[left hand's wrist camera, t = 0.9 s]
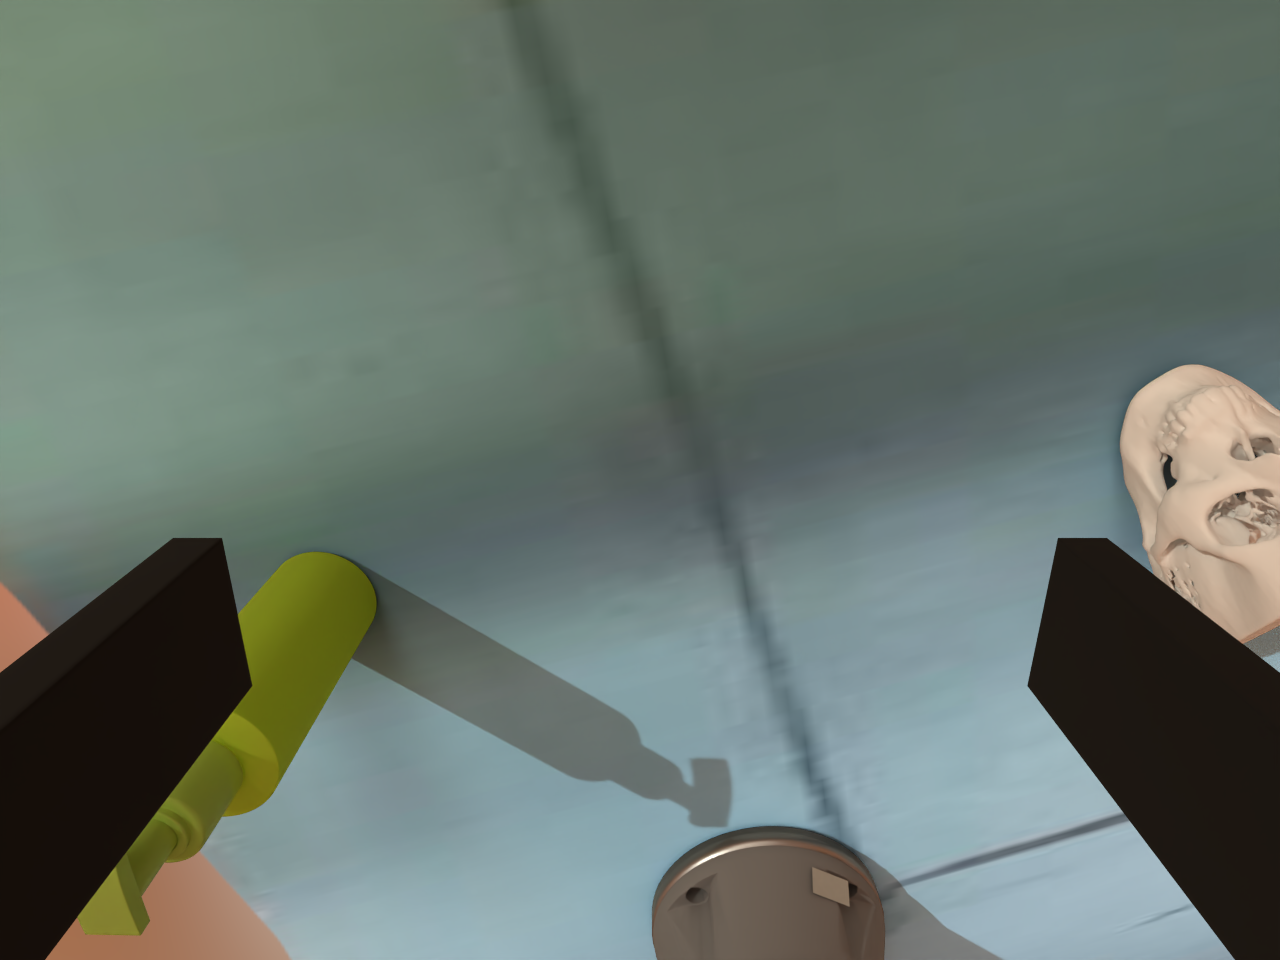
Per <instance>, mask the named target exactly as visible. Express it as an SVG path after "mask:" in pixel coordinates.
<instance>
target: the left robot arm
mask: <svg viewBox="0 0 1280 960" xmlns="http://www.w3.org/2000/svg"><path fill="white" fill-rule="evenodd" d="M251 687H252V681H251V676H250V671H249V667H248V662H247V657H246V652H245V647H244V642H243V638H242V633H241V628H240V623H239V618H238V613H237V609H236V604H235V599H234V594H233V589H232V584H231V580H230V575H229V570H228V565H227V560H226V556H225V551H224V546H223V541H222V538H173V539H171V540H170V541H169V542H167V543H166V544H165V545H164V546H162V547H161V548H160V549H158V550H157V551H156V552H155V553H153V554H152V555H151V556H149V557H148V558H147V559H146V560H144V561H143V562H142V563H140V564H139V565H138V566H137V567H135V568H134V569H133V570H132V571H130V572H129V573H128V574H126V575H125V576H124V577H123V578H121V579H120V580H119V581H117V582H116V583H115V584H114V585H112V586H111V587H110V588H108V589H107V590H106V591H105V592H103V593H102V594H101V595H99V596H98V597H97V598H96V599H94V600H93V601H92V602H90V603H89V604H88V605H87V606H85V607H84V608H83V609H81V610H80V611H79V612H78V613H76V614H75V615H74V616H72V617H71V618H70V619H69V620H67V621H66V622H65V623H63V624H62V625H61V626H60V627H58V628H57V629H56V630H54V631H53V632H52V633H51V634H49V635H48V636H47V637H46V638H44V639H43V640H42V641H40V642H39V643H38V644H37V645H35V646H34V647H33V648H31V649H30V650H29V651H28V652H26V653H25V654H24V655H22V656H21V657H20V658H19V659H17V660H16V661H15V662H13V663H12V664H11V665H10V666H8V667H7V668H6V669H4V670H3V671H2V672H1V673H0V960H45V959H46V958H47V956H48V955H49V954H50V952H51V951H52V950H53V948H54V947H55V946H56V945H57V943H58V942H59V941H60V939H61V938H62V937H63V935H64V934H65V933H66V931H67V930H68V929H69V927H70V926H71V925H72V923H73V922H74V921H75V919H76V918H77V917H78V915H79V914H80V913H81V912H82V910H83V909H84V908H85V906H86V905H87V904H88V902H89V901H90V900H91V898H92V897H93V896H94V894H95V893H96V892H97V890H98V889H99V888H100V886H101V885H102V884H103V883H104V881H105V880H106V879H107V877H108V876H109V875H110V873H111V872H112V871H113V869H114V868H115V867H116V865H117V864H118V863H119V861H120V860H121V859H122V857H123V856H124V855H125V853H126V852H127V851H128V850H129V848H130V847H131V846H132V844H133V843H134V842H135V840H136V839H137V838H138V836H139V835H140V834H141V832H142V831H143V830H144V828H145V827H146V826H147V824H148V823H149V822H150V820H151V819H152V818H153V817H154V815H155V814H156V813H157V811H158V810H159V809H160V807H161V806H162V805H163V803H164V802H165V801H166V799H167V798H168V797H169V795H170V794H171V793H172V791H173V790H174V789H175V787H176V786H177V785H178V784H179V782H180V781H181V780H182V778H183V777H184V776H185V774H186V773H187V772H188V770H189V769H190V768H191V766H192V765H193V764H194V762H195V761H196V760H197V758H198V757H199V756H200V754H201V753H202V752H203V751H204V749H205V748H206V747H207V745H208V744H209V743H210V741H211V740H212V739H213V737H214V736H215V735H216V733H217V732H218V731H219V729H220V728H221V727H222V725H223V724H224V723H225V721H226V720H227V719H228V718H229V716H230V715H231V714H232V712H233V711H234V710H235V708H236V707H237V706H238V704H239V703H240V702H241V700H242V699H243V698H244V696H245V695H246V694H247V692H248V691H249V690H250V688H251ZM1028 687H1029V688H1030V690H1031V691H1032V692H1033V694H1034V695H1035V696H1036V698H1037V699H1038V700H1039V702H1040V703H1041V704H1042V706H1043V707H1044V708H1045V710H1046V711H1047V712H1048V714H1049V715H1050V716H1051V718H1052V719H1053V720H1054V721H1055V723H1056V724H1057V725H1058V727H1059V728H1060V729H1061V731H1062V732H1063V733H1064V735H1065V736H1066V737H1067V739H1068V740H1069V741H1070V743H1071V744H1072V745H1073V747H1074V748H1075V749H1076V751H1077V752H1078V753H1079V754H1080V756H1081V757H1082V758H1083V760H1084V761H1085V762H1086V764H1087V765H1088V766H1089V768H1090V769H1091V770H1092V772H1093V773H1094V774H1095V776H1096V777H1097V778H1098V780H1099V781H1100V782H1101V784H1102V785H1103V786H1104V787H1105V789H1106V790H1107V791H1108V793H1109V794H1110V795H1111V797H1112V798H1113V799H1114V801H1115V802H1116V803H1117V805H1118V806H1119V807H1120V809H1121V810H1122V811H1123V813H1124V814H1125V815H1126V817H1127V818H1128V819H1129V820H1130V822H1131V823H1132V824H1133V826H1134V827H1135V828H1136V830H1137V831H1138V832H1139V834H1140V835H1141V836H1142V838H1143V839H1144V840H1145V842H1146V843H1147V844H1148V846H1149V847H1150V848H1151V850H1152V851H1153V852H1154V853H1155V855H1156V856H1157V857H1158V859H1159V860H1160V861H1161V863H1162V864H1163V865H1164V867H1165V868H1166V869H1167V871H1168V872H1169V873H1170V875H1171V876H1172V877H1173V879H1174V880H1175V881H1176V883H1177V884H1178V885H1179V886H1180V888H1181V889H1182V890H1183V892H1184V893H1185V894H1186V896H1187V897H1188V898H1189V900H1190V901H1191V902H1192V904H1193V905H1194V906H1195V908H1196V909H1197V910H1198V912H1199V913H1200V914H1201V915H1202V917H1203V918H1204V919H1205V921H1206V922H1207V923H1208V925H1209V926H1210V927H1211V929H1212V930H1213V931H1214V933H1215V934H1216V935H1217V937H1218V938H1219V939H1220V941H1221V942H1222V943H1223V945H1224V946H1225V947H1226V948H1227V950H1228V951H1229V952H1230V954H1231V955H1232V956H1233V958H1234V959H1235V960H1280V673H1279V672H1278V671H1277V670H1276V669H1274V668H1273V667H1272V666H1270V665H1269V664H1268V663H1267V662H1265V661H1264V660H1263V659H1261V658H1260V657H1259V656H1258V655H1256V654H1255V653H1254V652H1252V651H1251V650H1250V649H1249V648H1247V647H1246V646H1245V645H1243V644H1242V643H1241V642H1240V641H1238V640H1237V639H1236V638H1234V637H1233V636H1232V635H1231V634H1229V633H1228V632H1227V631H1226V630H1224V629H1223V628H1222V627H1220V626H1219V625H1218V624H1217V623H1215V622H1214V621H1213V620H1211V619H1210V618H1209V617H1208V616H1206V615H1205V614H1204V613H1202V612H1201V611H1200V610H1199V609H1197V608H1196V607H1195V606H1193V605H1192V604H1191V603H1190V602H1188V601H1187V600H1186V599H1184V598H1183V597H1182V596H1181V595H1179V594H1178V593H1177V592H1175V591H1174V590H1173V589H1172V588H1170V587H1169V586H1168V585H1166V584H1165V583H1164V582H1163V581H1161V580H1160V579H1159V578H1157V577H1156V576H1155V575H1154V574H1152V573H1151V572H1150V571H1148V570H1147V569H1146V568H1145V567H1143V566H1142V565H1141V564H1140V563H1138V562H1137V561H1136V560H1134V559H1133V558H1132V557H1131V556H1129V555H1128V554H1127V553H1125V552H1124V551H1123V550H1122V549H1120V548H1119V547H1118V546H1116V545H1115V544H1114V543H1113V542H1111V541H1110V540H1109V539H1107V538H1058V541H1057V546H1056V551H1055V556H1054V560H1053V565H1052V570H1051V575H1050V580H1049V584H1048V589H1047V594H1046V599H1045V604H1044V609H1043V613H1042V618H1041V623H1040V628H1039V633H1038V638H1037V642H1036V647H1035V652H1034V657H1033V662H1032V667H1031V671H1030V676H1029V681H1028ZM652 937H653V944H654V948H655V952H656V957H657V960H884V949H885V923H884V913H883V908H882V904H881V901H880V898H879V895H878V892H877V889H876V886H875V883H874V881H873V878H872V876H871V874H870V873H869V871H868V869H867V868H866V867H865V865H864V864H863V863H862V862H861V860H860V859H859V858H858V857H857V856H856V855H854V854H853V853H852V852H851V851H850V850H848V849H847V848H845V847H844V846H843V845H841V844H839V843H837V842H836V841H834V840H832V839H830V838H827V837H825V836H823V835H820V834H817V833H814V832H810V831H806V830H802V829H796V828H790V827H776V826H766V827H753V828H746V829H741V830H736V831H732V832H728V833H725V834H722V835H719V836H716V837H714V838H711V839H709V840H707V841H705V842H703V843H701V844H699V845H697V846H696V847H694V848H692V849H691V850H689V851H688V852H687V853H685V854H684V855H683V856H681V857H680V858H679V859H678V860H677V861H676V862H675V863H674V864H673V865H672V866H671V867H670V868H669V869H668V871H667V872H666V873H665V875H664V876H663V878H662V879H661V881H660V883H659V885H658V887H657V889H656V892H655V895H654V899H653V905H652Z"/></svg>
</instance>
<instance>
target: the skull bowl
mask: <svg viewBox="0 0 1280 960" xmlns="http://www.w3.org/2000/svg"><path fill="white" fill-rule="evenodd" d="M1120 453H1121V457H1122V462H1123V472H1124V479H1125V484H1126V487H1127V489H1128V491H1129V493H1130V495H1131V497H1132V499H1133V501H1134V504H1135V506H1136V508H1137V511H1138V515H1139V518H1140V523H1141V527H1142V533H1143V543H1142V545H1143V547H1144V549H1145V550H1146V551H1147V554H1148V558H1149V561H1150V563H1151V566H1152V570H1153V573H1154V575H1155V576H1156V577H1157V578H1159V579H1160V580H1161V581H1163V582H1164V583H1165V584H1166V585H1168V586H1169V587H1170V588H1172V589H1173V590H1174V591H1175V592H1177V593H1178V594H1179V595H1181V596H1182V597H1183V598H1184V599H1186V600H1187V601H1188V602H1190V603H1191V604H1192V605H1193V606H1195V607H1196V608H1197V609H1199V610H1200V611H1201V612H1202V613H1204V614H1205V615H1206V616H1208V617H1209V618H1210V619H1211V620H1213V621H1214V622H1215V623H1217V624H1218V625H1219V626H1220V627H1222V628H1223V629H1224V630H1226V631H1227V632H1228V633H1229V634H1231V635H1232V636H1233V637H1234V638H1236V639H1237V640H1238V641H1240V642H1241V643H1242V644H1243V643H1246V642H1248V641H1250V640H1252V639H1254V638H1256V637H1258V636H1260V635H1262V634H1264V633H1266V632H1268V631H1270V630H1272V629H1274V628H1276V627H1278V626H1280V411H1279V410H1278V409H1276V408H1275V407H1273V406H1272V405H1271V404H1270V403H1268V402H1267V401H1266V400H1265V399H1264V398H1262V397H1261V396H1260V395H1259V394H1257V393H1256V392H1255V391H1254V390H1252V389H1251V388H1249V387H1248V386H1246V385H1245V384H1243V383H1242V382H1240V381H1238V380H1236V379H1235V378H1233V377H1231V376H1229V375H1227V374H1224V373H1222V372H1220V371H1218V370H1215V369H1212V368H1210V367H1206V366H1203V365H1183V366H1180V367H1177V368H1175V369H1172V370H1170V371H1168V372H1166V373H1165V374H1163V375H1161V376H1160V377H1158V378H1156V379H1155V380H1153V381H1152V382H1150V383H1149V384H1147V385H1146V386H1145V387H1143V388H1142V389H1141V390H1140V391H1139V392H1137V394H1136V395H1135V396H1134V398H1133V399H1132V400H1131V402H1130V404H1129V406H1128V409H1127V412H1126V415H1125V419H1124V423H1123V427H1122V431H1121V436H1120ZM1254 453H1255V454H1256V455H1257V456H1258V457H1257V458H1255V455H1254ZM1167 454H1168V455H1170V456H1171V457H1172V458H1173V461H1172V462H1171V474H1172V476H1173V478H1175V479H1176V480H1177V482H1176V484H1175V485H1174V486H1173V487H1171V488H1170V489H1169V490H1168V491H1167V487H1166V484H1165V480H1164V475H1163V466H1164V463H1165V462H1166V460H1167V459H1168V455H1167ZM1248 459H1249V461H1248ZM1235 493H1240V495H1239V496H1238V498H1237V496H1236V495H1235Z"/></svg>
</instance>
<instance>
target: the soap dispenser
mask: <svg viewBox="0 0 1280 960" xmlns="http://www.w3.org/2000/svg"><path fill="white" fill-rule="evenodd" d="M376 607H377V601H376V595H375V591H374V588H373V586H372V584H371V582H370V581H369V579H368V578H367V576H366V575H365V574H364V573H363V572H362V571H361V570H360V569H359V568H358V567H357V566H356V565H354V564H353V563H351V562H350V561H348V560H346V559H344V558H342V557H340V556H337V555H334V554H330V553H325V552H308V553H303V554H299V555H296V556H294V557H292V558H290V559H288V560H287V561H285V562H284V563H283V564H282V565H281V566H280V567H279V568H278V569H277V570H276V572H275V573H274V574H273V575H272V576H271V577H270V578H269V580H268V581H267V582H266V583H265V584H264V585H263V586H262V588H261V589H260V590H259V591H258V592H257V593H256V594H255V595H254V597H253V598H252V599H251V600H250V601H249V602H248V603H247V605H246V606H245V607H244V608H243V609H242V610H241V611H240V613H239V614H238V618H239V623H240V628H241V633H242V638H243V642H244V647H245V652H246V657H247V662H248V667H249V671H250V676H251V681H252V687H251V688H250V690H249V691H248V692H247V694H246V695H245V696H244V698H243V699H242V700H241V702H240V703H239V704H238V706H237V707H236V708H235V710H234V711H233V712H232V714H231V715H230V716H229V718H228V719H227V720H226V721H225V723H224V724H223V725H222V727H221V728H220V729H219V731H218V732H217V733H216V735H215V736H214V737H213V739H212V740H211V741H210V743H209V744H208V745H207V747H206V748H205V749H204V751H203V752H202V753H201V754H200V756H199V757H198V758H197V760H196V761H195V762H194V764H193V765H192V766H191V768H190V769H189V770H188V772H187V773H186V774H185V776H184V777H183V778H182V780H181V781H180V782H179V784H178V785H177V786H176V787H175V789H174V790H173V791H172V793H171V794H170V795H169V797H168V798H167V799H166V801H165V802H164V803H163V805H162V806H161V807H160V809H159V810H158V811H157V813H156V814H155V815H154V817H153V818H152V819H151V820H150V822H149V823H148V824H147V826H146V827H145V828H144V830H143V831H142V832H141V834H140V835H139V836H138V838H137V839H136V840H135V842H134V843H133V844H132V846H131V847H130V848H129V850H128V851H127V852H126V853H125V855H124V856H123V857H122V859H121V860H120V861H119V863H118V864H117V865H116V867H115V868H114V869H113V871H112V872H111V873H110V875H109V876H108V877H107V879H106V880H105V881H104V883H103V884H102V885H101V886H100V888H99V889H98V890H97V892H96V893H95V894H94V896H93V897H92V898H91V900H90V901H89V902H88V904H87V905H86V906H85V908H84V909H83V910H82V912H81V913H80V914H79V915H78V917H77V918H78V920H79V922H80V924H81V926H82V929H83V931H84V932H85V934H91V935H141V934H142V933H143V931H144V929H145V928H146V926H147V925H148V923H149V922H150V919H149V916H148V914H147V911H146V908H145V906H144V903H143V900H142V897H141V896H142V895H143V893H144V892H145V890H146V889H147V888H148V886H149V885H150V883H151V882H152V880H153V879H154V877H155V875H156V874H157V873H158V871H159V870H160V868H161V867H162V865H163V864H164V862H166V863H171V862H179V861H183V860H186V859H188V858H190V857H192V856H194V855H195V854H196V853H197V852H198V851H199V850H200V849H201V848H202V847H203V845H204V844H205V842H206V841H207V839H208V838H209V836H210V835H211V833H212V831H213V830H214V828H215V827H216V825H217V824H218V822H219V820H220V819H221V817H225V816H235V815H240V814H243V813H247V812H249V811H252V810H254V809H256V808H257V807H259V806H261V805H262V804H263V803H265V802H266V801H267V800H268V799H269V798H270V796H271V795H272V794H273V792H274V791H275V789H276V787H277V786H278V784H279V782H280V780H281V779H282V777H283V775H284V774H285V772H286V770H287V768H288V767H289V765H290V763H291V761H292V760H293V758H294V756H295V755H296V753H297V751H298V749H299V748H300V746H301V744H302V742H303V741H304V739H305V737H306V736H307V734H308V732H309V730H310V729H311V727H312V725H313V723H314V722H315V720H316V718H317V716H318V715H319V713H320V711H321V710H322V708H323V706H324V704H325V703H326V701H327V699H328V697H329V696H330V694H331V692H332V691H333V689H334V687H335V685H336V684H337V682H338V680H339V678H340V677H341V675H342V673H343V672H344V670H345V668H346V666H347V665H348V663H349V661H350V659H351V658H352V656H353V654H354V652H355V651H356V649H357V647H358V646H359V644H360V642H361V640H362V639H363V637H364V635H365V633H366V632H367V630H368V628H369V627H370V625H371V623H372V621H373V619H374V617H375V613H376Z"/></svg>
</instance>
